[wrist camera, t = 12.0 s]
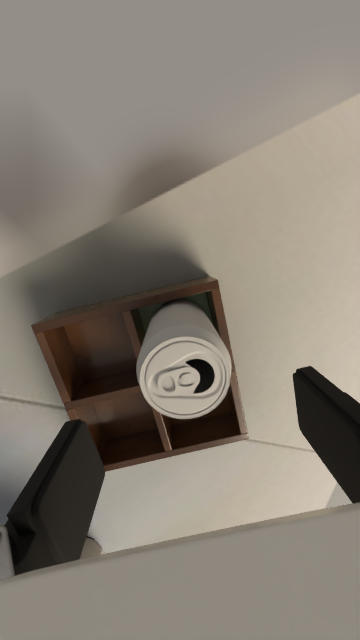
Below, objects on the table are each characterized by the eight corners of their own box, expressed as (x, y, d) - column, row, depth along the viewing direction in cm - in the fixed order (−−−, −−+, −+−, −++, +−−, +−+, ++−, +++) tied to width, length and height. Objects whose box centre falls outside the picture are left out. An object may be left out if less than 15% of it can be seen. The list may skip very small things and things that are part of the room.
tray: (55, 313, 27) (30, 325, 22) (209, 275, 26) (217, 279, 22) (104, 442, 31) (92, 474, 26) (237, 411, 31) (249, 439, 26)
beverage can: (213, 346, 27) (245, 412, 16) (158, 359, 27) (149, 435, 16) (201, 291, 26) (226, 319, 14) (142, 306, 26) (119, 346, 14)
